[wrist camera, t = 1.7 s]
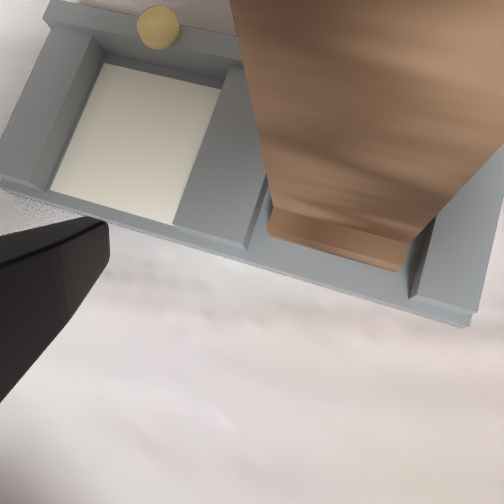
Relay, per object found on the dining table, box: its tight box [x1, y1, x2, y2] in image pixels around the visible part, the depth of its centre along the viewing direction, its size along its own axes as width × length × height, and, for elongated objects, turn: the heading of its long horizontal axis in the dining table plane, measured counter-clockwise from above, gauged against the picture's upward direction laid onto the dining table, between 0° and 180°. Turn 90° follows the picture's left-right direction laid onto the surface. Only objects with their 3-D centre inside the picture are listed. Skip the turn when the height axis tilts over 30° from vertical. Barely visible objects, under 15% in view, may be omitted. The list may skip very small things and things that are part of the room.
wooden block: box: [230, 0, 504, 273], centre depth 14 cm, size 6×6×14 cm
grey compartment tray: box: [0, 0, 504, 328], centre depth 21 cm, size 24×10×4 cm, turn 72°
